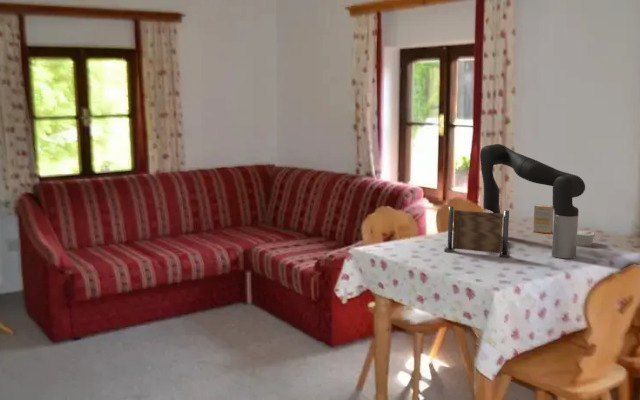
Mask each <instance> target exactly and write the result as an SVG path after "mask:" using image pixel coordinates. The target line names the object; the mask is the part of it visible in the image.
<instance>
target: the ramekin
mask: <svg viewBox="0 0 640 400" xmlns="http://www.w3.org/2000/svg"><path fill="white" fill-rule="evenodd" d="M595 236H596V234H595V233H594V232H593V231H590V230H583V229H577V243H576V247H577V246H578V247H580V246H581V247H589V246H590V247H591V245H592V244H593V241H594V237H595Z"/></svg>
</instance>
